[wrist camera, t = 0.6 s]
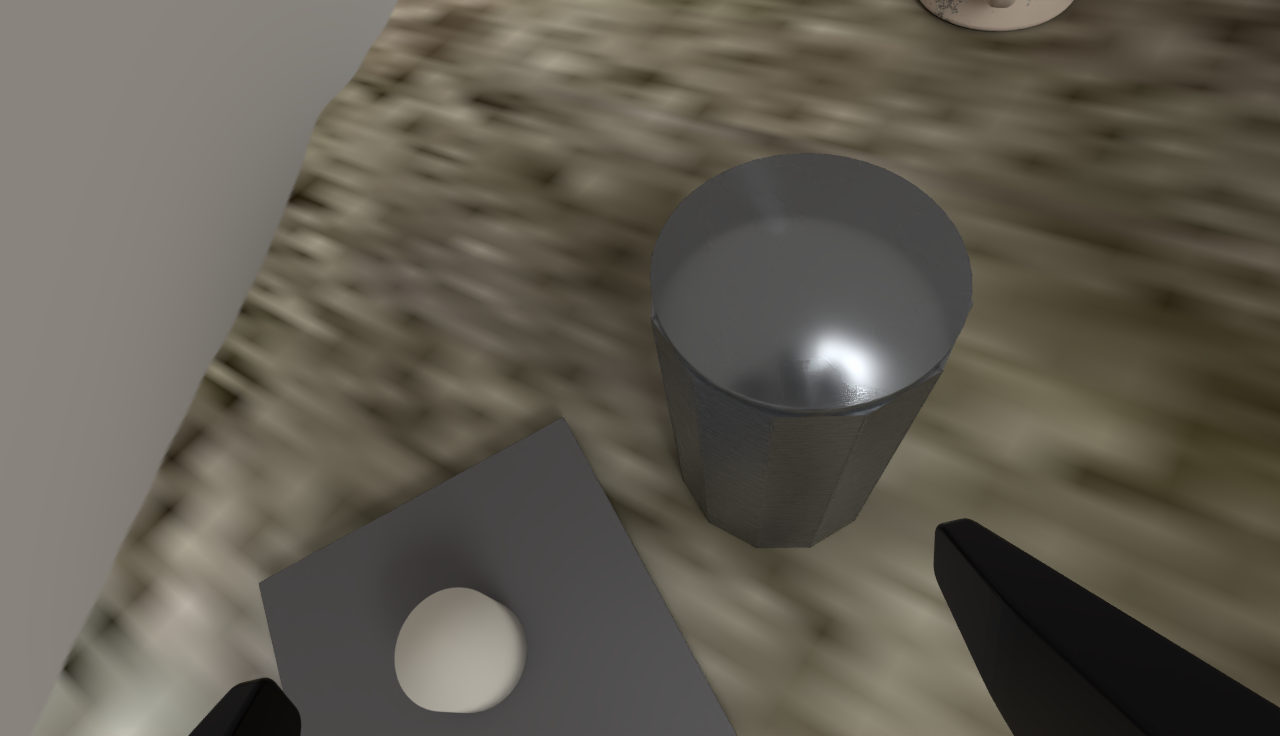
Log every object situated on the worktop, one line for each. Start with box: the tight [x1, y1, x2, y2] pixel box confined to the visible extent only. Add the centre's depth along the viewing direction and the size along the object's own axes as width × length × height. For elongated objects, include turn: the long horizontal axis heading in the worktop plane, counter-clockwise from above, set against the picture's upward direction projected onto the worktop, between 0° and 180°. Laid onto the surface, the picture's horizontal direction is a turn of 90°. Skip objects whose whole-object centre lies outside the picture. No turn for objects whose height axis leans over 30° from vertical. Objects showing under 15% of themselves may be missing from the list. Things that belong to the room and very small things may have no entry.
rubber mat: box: [259, 417, 737, 736], centre depth 22 cm, size 13×13×3 cm
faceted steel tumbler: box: [650, 153, 973, 548], centre depth 20 cm, size 7×7×12 cm
